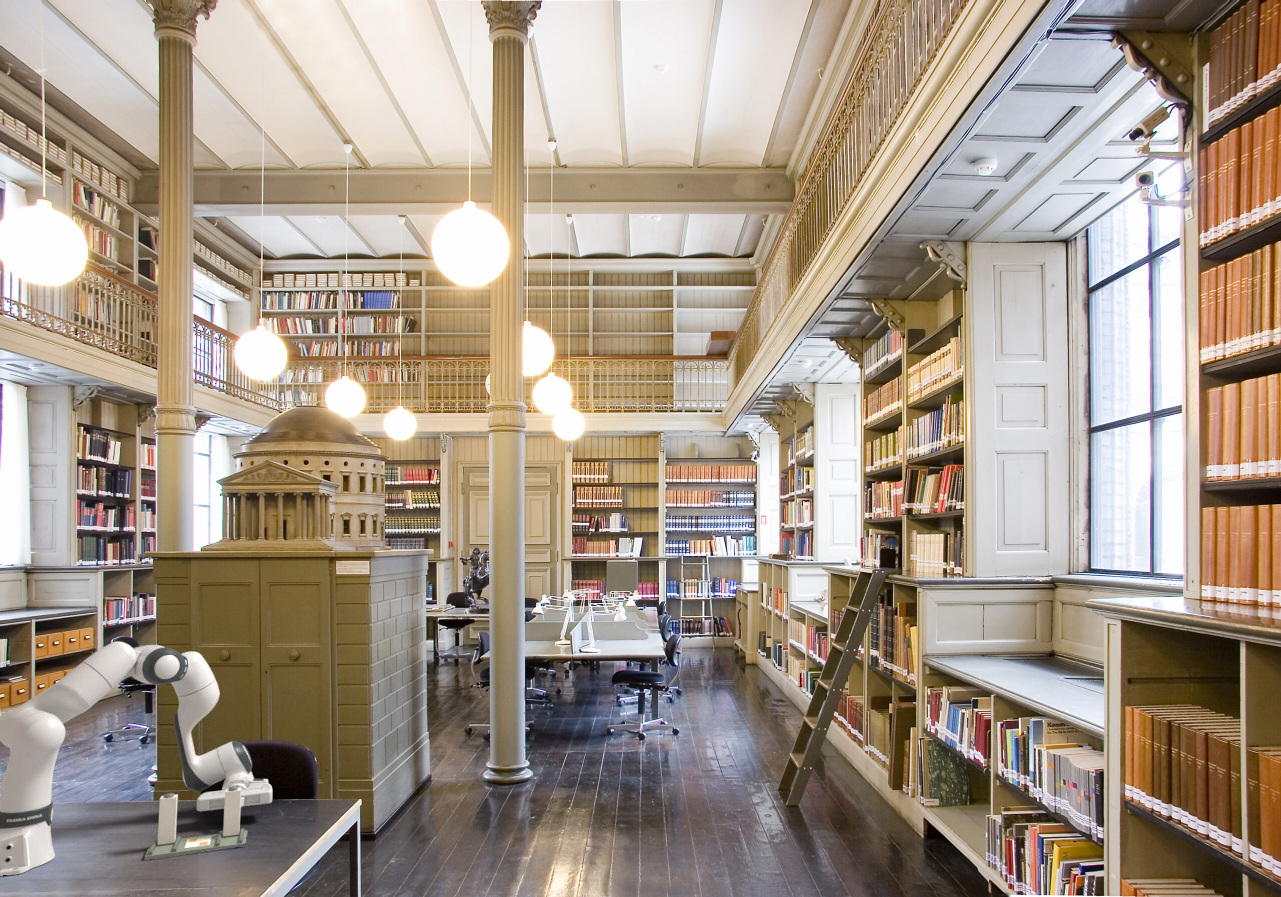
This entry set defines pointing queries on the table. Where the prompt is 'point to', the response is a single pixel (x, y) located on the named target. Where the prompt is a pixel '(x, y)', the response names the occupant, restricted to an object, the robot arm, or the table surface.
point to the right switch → (232, 811)
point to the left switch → (167, 819)
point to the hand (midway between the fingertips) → (233, 806)
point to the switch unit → (194, 845)
